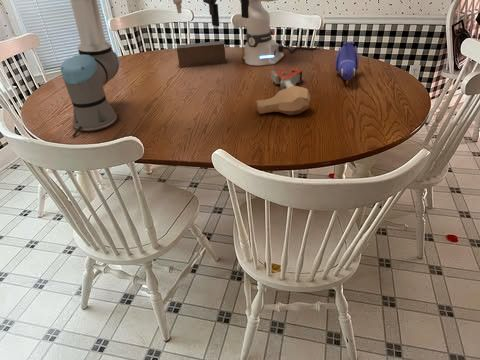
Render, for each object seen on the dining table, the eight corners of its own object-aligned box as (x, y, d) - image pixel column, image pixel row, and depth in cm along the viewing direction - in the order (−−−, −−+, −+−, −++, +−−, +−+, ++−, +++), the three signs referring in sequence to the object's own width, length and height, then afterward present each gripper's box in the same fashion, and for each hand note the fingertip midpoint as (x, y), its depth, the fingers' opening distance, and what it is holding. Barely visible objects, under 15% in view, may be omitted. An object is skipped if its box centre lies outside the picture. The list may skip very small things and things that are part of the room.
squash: (314, 116, 128) (313, 95, 122) (259, 125, 130) (256, 105, 124) (308, 99, 136) (307, 78, 129) (257, 108, 138) (253, 88, 131)
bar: (224, 59, 186) (223, 40, 180) (225, 63, 182) (224, 43, 176) (179, 64, 184) (176, 45, 178) (179, 67, 180) (176, 48, 174)
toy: (333, 78, 167) (335, 88, 145) (335, 40, 160) (337, 44, 138) (355, 78, 165) (360, 87, 142) (358, 39, 158) (364, 43, 136)
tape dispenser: (295, 102, 142) (315, 82, 154) (296, 90, 138) (316, 70, 151) (257, 92, 149) (279, 74, 162) (257, 81, 146) (279, 63, 158)
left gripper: (246, -57, 116) (248, 13, 129) (185, -50, 103) (195, 27, 115) (263, -57, 112) (264, 15, 124) (202, -50, 98) (210, 31, 111)
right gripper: (167, -25, 167) (173, 7, 175) (166, -19, 151) (172, 16, 159) (181, -27, 167) (186, 5, 176) (181, -21, 151) (186, 14, 159)
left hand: (230, 21), depth 120 cm, fingers open, 13 cm apart
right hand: (179, 10), depth 167 cm, fingers open, 8 cm apart
